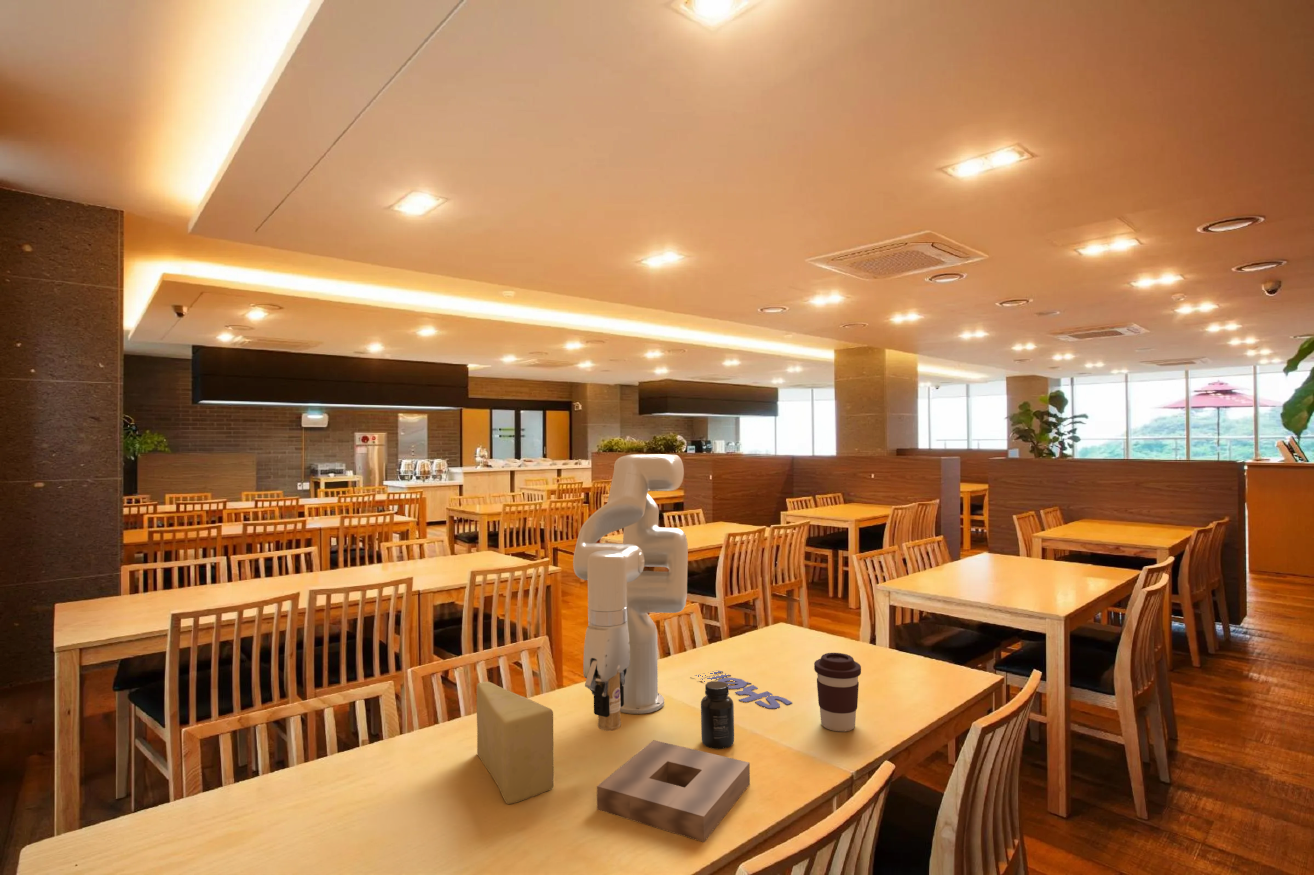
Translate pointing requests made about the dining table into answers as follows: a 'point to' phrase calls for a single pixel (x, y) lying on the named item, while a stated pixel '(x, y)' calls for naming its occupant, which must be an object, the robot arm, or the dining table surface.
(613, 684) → the sprinkles bottle
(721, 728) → the supplement bottle
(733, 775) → the walnut holder
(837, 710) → the coffee cup
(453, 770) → the dining table surface
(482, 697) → the cheese
